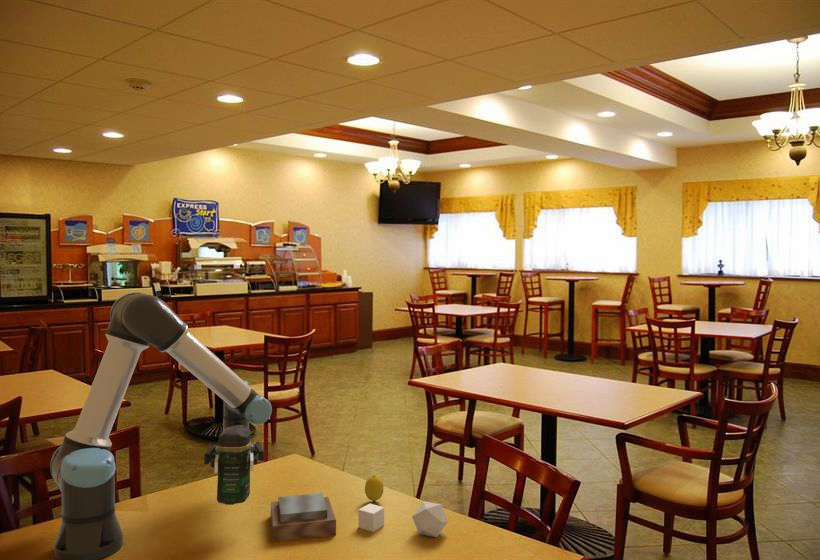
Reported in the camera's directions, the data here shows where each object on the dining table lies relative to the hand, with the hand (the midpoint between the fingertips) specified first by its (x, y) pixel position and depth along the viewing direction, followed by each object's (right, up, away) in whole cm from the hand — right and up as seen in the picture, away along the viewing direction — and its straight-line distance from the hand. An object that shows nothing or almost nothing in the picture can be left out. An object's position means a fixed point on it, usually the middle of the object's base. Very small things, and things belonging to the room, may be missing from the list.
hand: (234, 466), depth 157 cm
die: (+50, -19, +5) cm, 54 cm away
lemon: (+34, -18, +26) cm, 47 cm away
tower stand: (+16, -19, +10) cm, 26 cm away
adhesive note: (+34, -19, +9) cm, 40 cm away
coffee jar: (-1, -10, +5) cm, 11 cm away
